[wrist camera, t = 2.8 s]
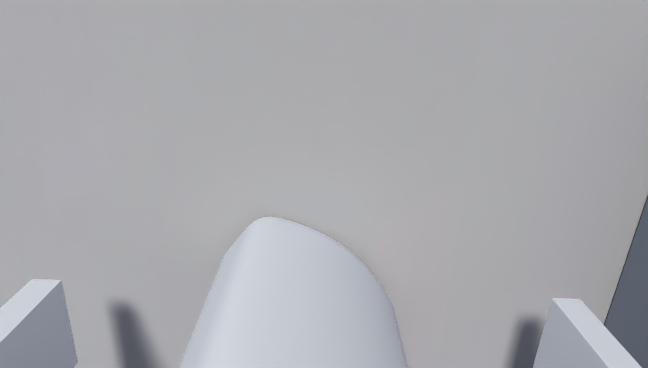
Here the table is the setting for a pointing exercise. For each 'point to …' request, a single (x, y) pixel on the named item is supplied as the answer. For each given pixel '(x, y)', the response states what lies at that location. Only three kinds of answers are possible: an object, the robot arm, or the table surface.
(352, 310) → the eye dropper bottle
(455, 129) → the table surface
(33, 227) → the table surface
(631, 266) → the tray
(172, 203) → the table surface
